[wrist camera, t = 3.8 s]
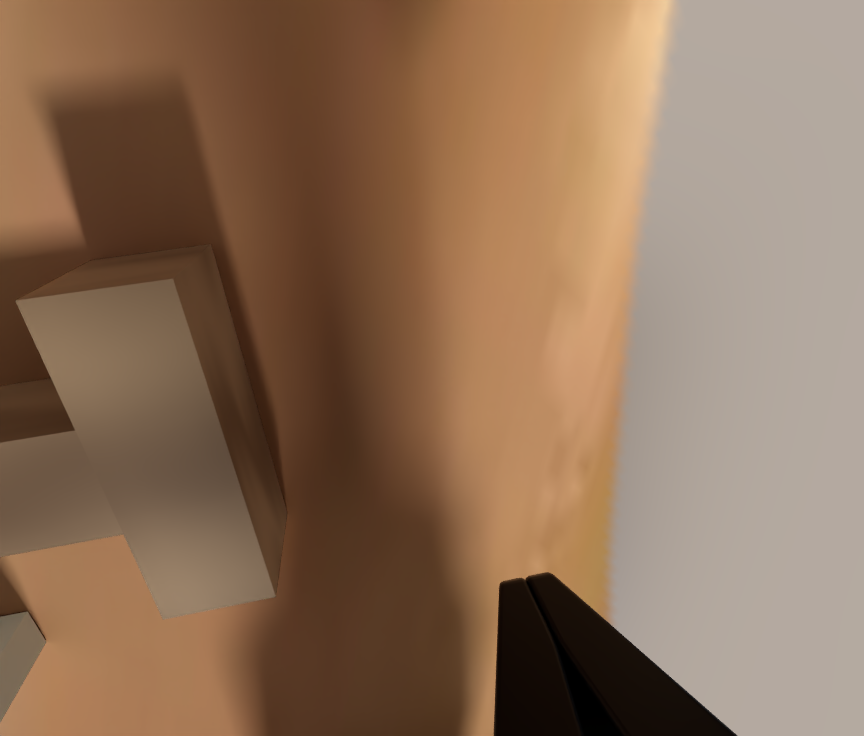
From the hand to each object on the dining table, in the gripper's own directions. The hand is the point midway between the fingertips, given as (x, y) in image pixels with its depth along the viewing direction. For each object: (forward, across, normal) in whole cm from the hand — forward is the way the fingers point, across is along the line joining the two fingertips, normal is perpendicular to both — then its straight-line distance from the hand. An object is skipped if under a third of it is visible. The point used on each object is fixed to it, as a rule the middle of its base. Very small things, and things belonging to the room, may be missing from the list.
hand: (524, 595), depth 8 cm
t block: (+9, +10, 0) cm, 13 cm away
